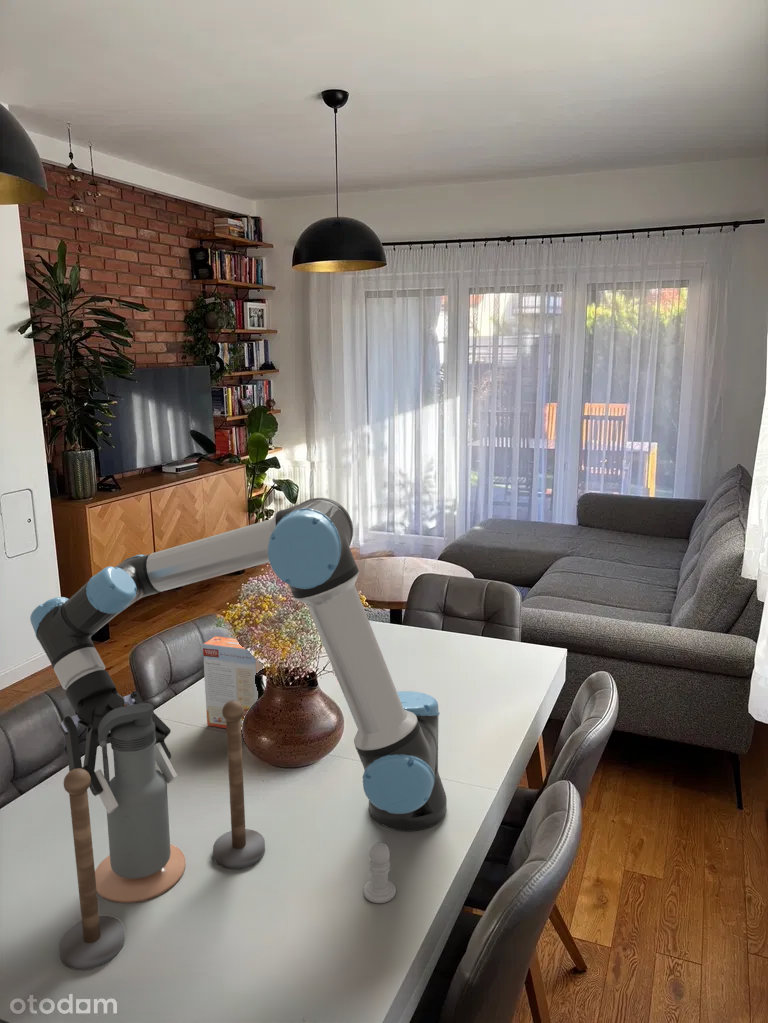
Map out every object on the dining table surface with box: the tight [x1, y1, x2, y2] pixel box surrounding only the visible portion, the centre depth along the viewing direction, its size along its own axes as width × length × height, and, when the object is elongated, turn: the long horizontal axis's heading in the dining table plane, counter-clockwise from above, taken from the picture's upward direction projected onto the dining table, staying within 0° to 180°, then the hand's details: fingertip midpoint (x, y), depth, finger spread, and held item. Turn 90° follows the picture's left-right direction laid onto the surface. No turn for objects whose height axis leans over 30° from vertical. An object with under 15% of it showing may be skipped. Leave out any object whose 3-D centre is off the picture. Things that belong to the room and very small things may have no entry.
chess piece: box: [362, 842, 397, 904], centre depth 123 cm, size 5×5×9 cm
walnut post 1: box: [59, 768, 126, 971], centre depth 110 cm, size 9×9×29 cm
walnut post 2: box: [212, 700, 266, 870], centre depth 131 cm, size 9×9×29 cm
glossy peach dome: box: [95, 843, 187, 904], centre depth 129 cm, size 15×15×1 cm
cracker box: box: [202, 635, 263, 729], centre depth 179 cm, size 14×6×21 cm, turn 71°
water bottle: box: [98, 702, 171, 879], centre depth 126 cm, size 10×10×28 cm
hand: (144, 794), depth 124 cm, fingers closed on water bottle, 10 cm apart
